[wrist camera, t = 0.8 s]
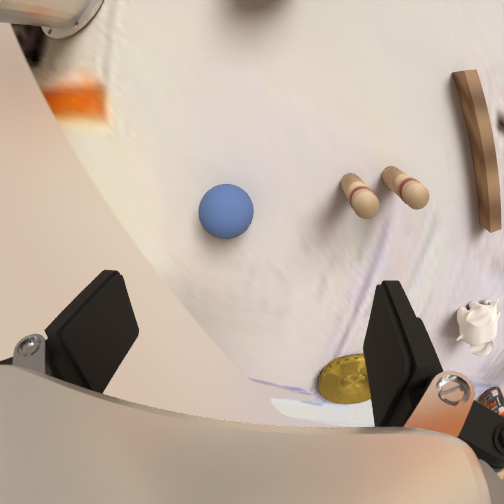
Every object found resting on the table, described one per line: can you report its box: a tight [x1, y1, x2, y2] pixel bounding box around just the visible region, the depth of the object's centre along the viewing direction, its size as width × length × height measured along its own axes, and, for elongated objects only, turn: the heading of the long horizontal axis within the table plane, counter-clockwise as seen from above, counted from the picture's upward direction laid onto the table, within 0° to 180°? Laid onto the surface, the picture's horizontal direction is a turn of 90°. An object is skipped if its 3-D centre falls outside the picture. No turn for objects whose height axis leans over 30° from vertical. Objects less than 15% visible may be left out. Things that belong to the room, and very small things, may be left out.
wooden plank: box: [452, 70, 501, 233], centre depth 26 cm, size 20×2×3 cm, turn 22°
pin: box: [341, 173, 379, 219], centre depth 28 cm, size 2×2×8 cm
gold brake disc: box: [319, 354, 371, 404], centre depth 45 cm, size 12×12×2 cm
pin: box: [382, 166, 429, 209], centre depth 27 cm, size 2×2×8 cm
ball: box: [199, 184, 253, 239], centre depth 33 cm, size 6×6×6 cm
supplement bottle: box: [479, 387, 504, 417], centre depth 41 cm, size 6×6×11 cm
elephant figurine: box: [457, 297, 500, 356], centre depth 34 cm, size 8×10×7 cm
